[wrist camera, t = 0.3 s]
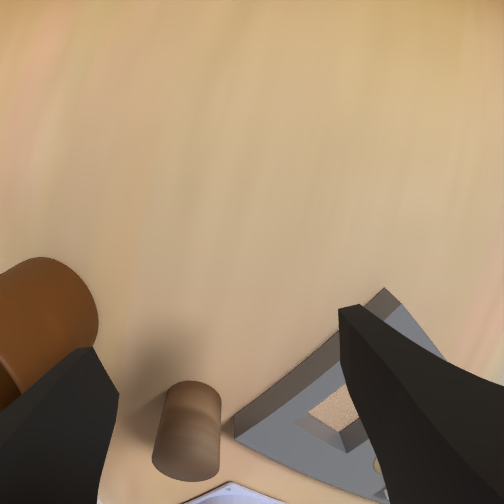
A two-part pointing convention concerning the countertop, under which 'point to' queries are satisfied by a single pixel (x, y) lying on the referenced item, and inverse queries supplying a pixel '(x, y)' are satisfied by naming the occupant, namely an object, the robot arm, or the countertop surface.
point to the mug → (40, 322)
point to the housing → (313, 430)
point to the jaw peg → (189, 433)
